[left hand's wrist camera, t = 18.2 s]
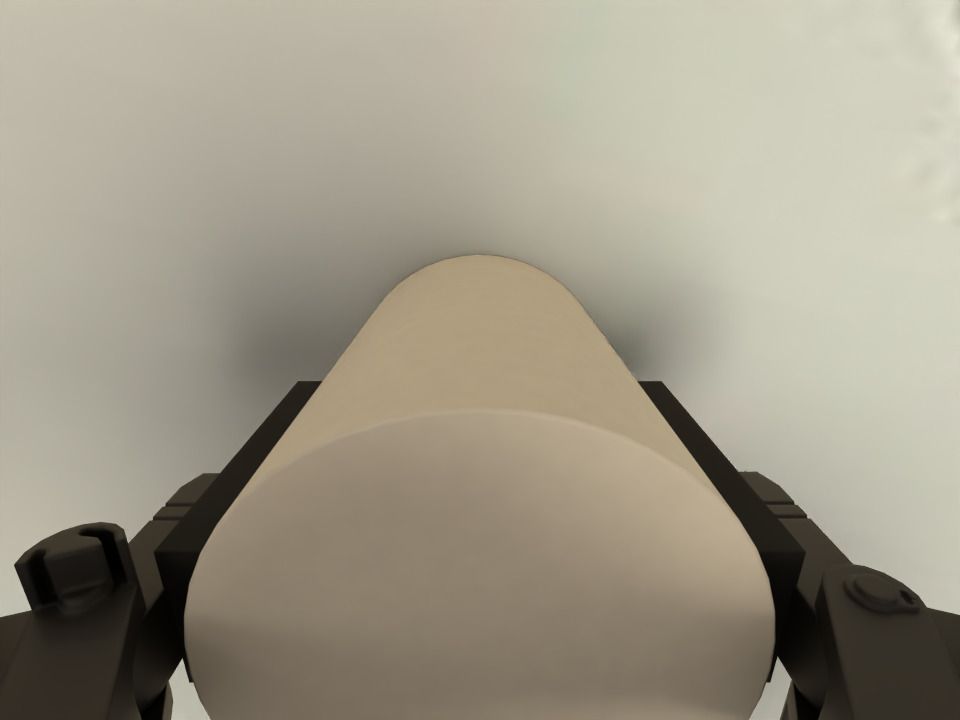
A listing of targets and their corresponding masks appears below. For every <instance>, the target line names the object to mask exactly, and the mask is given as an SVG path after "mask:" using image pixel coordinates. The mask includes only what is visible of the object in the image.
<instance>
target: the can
mask: <svg viewBox="0 0 960 720" xmlns="http://www.w3.org/2000/svg"><path fill="white" fill-rule="evenodd" d="M184 643H185V650H186V656H187V661H188V666H189V671H190V675H191V677H192V680H193V683H194V685H195V688H196V691H197V693H198V696H199V699H200V701H201V703H202V705H203V706H204V708H205V710H206V712H207V713H208V715H209V717H210V719H211V720H749V718H750V716H751V714H752V713H753V711H754V709H755V707H756V705H757V703H758V701H759V699H760V698H761V695H762V693H763V690H764V687H765V684H766V681H767V678H768V675H769V672H770V670H771V664H772V658H773V652H774V646H775V608H774V603H773V598H772V593H771V588H770V583H769V578H768V576H767V573H766V571H765V568H764V565H763V563H762V560H761V558H760V555H759V553H758V550H757V548H756V547H755V545H754V543H753V542H752V540H751V538H750V537H749V535H748V533H747V532H746V530H745V529H744V527H743V525H742V524H741V522H740V520H739V519H738V518H737V516H736V515H735V514H734V512H733V511H732V510H731V508H730V507H729V505H728V504H727V503H726V501H725V500H724V499H723V497H722V496H721V495H720V493H719V492H718V491H717V489H716V488H715V486H714V485H713V484H712V482H711V481H710V480H709V478H708V477H707V476H706V474H705V473H704V472H703V470H702V469H701V467H700V466H699V465H698V463H697V462H696V461H695V459H694V458H693V457H692V455H691V454H690V453H689V451H688V450H687V448H686V447H685V446H684V444H683V443H682V442H681V440H680V439H679V438H678V436H677V435H676V434H675V432H674V431H673V429H672V428H671V427H670V425H669V424H668V423H667V421H666V420H665V419H664V417H663V416H662V415H661V413H660V412H659V410H658V409H657V408H656V406H655V405H654V404H653V402H652V401H651V400H650V398H649V397H648V396H647V394H646V393H645V391H644V390H643V389H642V387H641V386H640V385H639V383H638V382H637V381H636V379H635V378H634V377H633V375H632V374H631V373H630V371H629V370H628V368H627V367H626V366H625V364H624V363H623V362H622V360H621V359H620V358H619V356H618V355H617V354H616V352H615V351H614V349H613V348H612V347H611V345H610V344H609V343H608V341H607V340H606V339H605V337H604V336H603V335H602V333H601V332H600V330H599V329H598V328H597V326H596V325H595V324H594V322H593V321H592V320H591V318H590V317H589V316H588V314H587V313H586V311H585V310H584V309H583V307H582V306H581V305H580V303H579V302H578V301H577V300H576V299H575V298H574V296H573V295H572V294H571V293H570V292H569V291H568V290H567V289H566V288H565V287H564V286H563V285H562V284H560V283H559V282H558V281H557V280H555V279H554V278H552V277H551V276H549V275H548V274H546V273H545V272H543V271H541V270H539V269H537V268H535V267H533V266H531V265H529V264H526V263H523V262H520V261H517V260H514V259H510V258H505V257H500V256H492V255H469V256H459V257H455V258H450V259H445V260H442V261H439V262H437V263H434V264H431V265H428V266H426V267H424V268H422V269H421V270H419V271H417V272H415V273H413V274H412V275H410V276H409V277H407V278H406V279H405V280H403V281H402V282H400V283H399V284H398V285H397V286H396V287H395V288H394V289H393V290H392V291H391V292H390V293H388V295H387V296H386V297H385V298H384V300H383V301H382V302H381V303H380V305H379V306H378V307H377V308H376V310H375V311H374V313H373V314H372V315H371V317H370V318H369V319H368V321H367V322H366V323H365V325H364V326H363V327H362V329H361V330H360V331H359V333H358V334H357V336H356V337H355V338H354V340H353V341H352V342H351V344H350V345H349V346H348V348H347V349H346V350H345V352H344V353H343V355H342V356H341V357H340V359H339V360H338V361H337V363H336V364H335V365H334V367H333V368H332V369H331V371H330V372H329V373H328V375H327V376H326V378H325V379H324V380H323V382H322V383H321V384H320V386H319V387H318V388H317V390H316V391H315V392H314V394H313V395H312V396H311V398H310V399H309V401H308V402H307V403H306V405H305V406H304V407H303V409H302V410H301V411H300V413H299V414H298V415H297V417H296V418H295V420H294V421H293V422H292V424H291V425H290V426H289V428H288V429H287V430H286V432H285V433H284V434H283V436H282V437H281V438H280V440H279V441H278V443H277V444H276V445H275V447H274V448H273V449H272V451H271V452H270V453H269V455H268V456H267V457H266V459H265V460H264V462H263V463H262V464H261V466H260V467H259V468H258V470H257V471H256V472H255V474H254V475H253V476H252V478H251V479H250V480H249V482H248V483H247V485H246V486H245V487H244V489H243V490H242V491H241V493H240V494H239V495H238V497H237V498H236V499H235V501H234V502H233V503H232V505H231V506H230V508H229V509H228V510H227V512H226V513H225V514H224V516H223V517H222V518H221V520H220V521H219V522H218V524H217V525H216V527H215V529H214V530H213V532H212V534H211V536H210V537H209V539H208V541H207V543H206V544H205V546H204V548H203V550H202V551H201V553H200V555H199V558H198V561H197V564H196V567H195V569H194V572H193V575H192V578H191V580H190V583H189V589H188V595H187V601H186V607H185V613H184Z"/></svg>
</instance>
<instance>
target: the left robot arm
mask: <svg viewBox="0 0 960 720" xmlns="http://www.w3.org/2000/svg"><path fill="white" fill-rule="evenodd" d="M322 382H323V381H298V382H297V383H296V385H295V386H294V387H293V388H292V389H291V390H290V392H289V393H288V394H287V395H286V396H285V397H284V399H283V400H282V401H281V402H280V403H279V405H278V406H277V407H276V408H275V409H274V410H273V412H272V413H271V414H270V415H269V416H268V418H267V419H266V420H265V421H264V422H263V423H262V425H261V426H260V427H259V428H258V429H257V430H256V432H255V433H254V434H253V435H252V436H251V438H250V439H249V440H248V441H247V442H246V443H245V445H244V446H243V447H242V448H241V449H240V451H239V452H238V453H237V454H236V455H235V456H234V458H233V459H232V460H231V461H230V462H229V463H228V465H227V466H226V467H225V468H224V469H223V471H222V472H221V473H203V474H202V475H200V476H198V477H197V478H195V479H194V480H192V481H190V482H189V483H187V484H185V485H184V486H182V487H181V488H180V489H179V490H178V491H177V492H176V493H175V494H174V495H173V496H172V497H171V498H170V500H169V501H168V502H167V503H166V506H165V507H162V508H161V509H160V510H159V511H158V512H157V513H156V515H155V516H154V517H153V520H152V521H149V522H148V523H147V524H146V525H145V526H144V527H143V528H142V529H141V531H140V532H139V533H138V534H137V535H136V536H135V537H134V538H133V539H132V540H131V541H130V542H129V543H128V542H127V539H126V535H125V532H124V529H122V528H121V527H119V526H118V525H116V524H113V523H105V522H98V523H90V524H83V525H79V526H76V527H73V528H69V529H66V530H63V531H60V532H58V533H56V534H54V535H52V536H50V537H48V538H46V539H44V540H42V541H40V542H39V543H37V544H36V545H34V546H33V547H32V548H30V549H29V550H27V551H26V552H25V553H24V554H23V555H22V556H21V557H20V558H19V560H18V561H17V562H16V563H15V564H14V566H15V569H16V571H17V574H18V576H19V579H20V581H21V584H22V587H23V589H24V592H25V594H26V597H27V599H28V602H29V604H30V607H31V609H32V610H30V611H26V612H22V613H18V614H13V615H9V616H4V617H0V720H171V716H172V706H173V698H172V692H171V687H170V684H169V679H170V678H171V676H172V674H173V673H174V671H175V669H176V668H177V666H178V664H179V663H180V661H181V659H182V658H183V661H184V665H185V668H186V672H187V675H188V679H189V682H193V680H192V677H191V675H190V671H189V666H188V661H187V656H186V650H185V643H184V613H185V607H186V601H187V595H188V589H189V583H190V580H191V578H192V575H193V572H194V569H195V567H196V564H197V561H198V558H199V555H200V553H201V551H202V550H203V548H204V546H205V544H206V543H207V541H208V539H209V537H210V536H211V534H212V532H213V530H214V529H215V527H216V525H217V524H218V522H219V521H220V520H221V518H222V517H223V516H224V514H225V513H226V512H227V510H228V509H229V508H230V506H231V505H232V503H233V502H234V501H235V499H236V498H237V497H238V495H239V494H240V493H241V491H242V490H243V489H244V487H245V486H246V485H247V483H248V482H249V480H250V479H251V478H252V476H253V475H254V474H255V472H256V471H257V470H258V468H259V467H260V466H261V464H262V463H263V462H264V460H265V459H266V457H267V456H268V455H269V453H270V452H271V451H272V449H273V448H274V447H275V445H276V444H277V443H278V441H279V440H280V438H281V437H282V436H283V434H284V433H285V432H286V430H287V429H288V428H289V426H290V425H291V424H292V422H293V421H294V420H295V418H296V417H297V415H298V414H299V413H300V411H301V410H302V409H303V407H304V406H305V405H306V403H307V402H308V401H309V399H310V398H311V396H312V395H313V394H314V392H315V391H316V390H317V388H318V387H319V386H320V384H321V383H322ZM637 382H638V383H639V385H640V386H641V387H642V389H643V390H644V391H645V393H646V394H647V396H648V397H649V398H650V400H651V401H652V402H653V404H654V405H655V406H656V408H657V409H658V410H659V412H660V413H661V415H662V416H663V417H664V419H665V420H666V421H667V423H668V424H669V425H670V427H671V428H672V429H673V431H674V432H675V434H676V435H677V436H678V438H679V439H680V440H681V442H682V443H683V444H684V446H685V447H686V448H687V450H688V451H689V453H690V454H691V455H692V457H693V458H694V459H695V461H696V462H697V463H698V465H699V466H700V467H701V469H702V470H703V472H704V473H705V474H706V476H707V477H708V478H709V480H710V481H711V482H712V484H713V485H714V486H715V488H716V489H717V491H718V492H719V493H720V495H721V496H722V497H723V499H724V500H725V501H726V503H727V504H728V505H729V507H730V508H731V510H732V511H733V512H734V514H735V515H736V516H737V518H738V519H739V520H740V522H741V524H742V525H743V527H744V529H745V530H746V532H747V533H748V535H749V537H750V538H751V540H752V542H753V543H754V545H755V547H756V548H757V550H758V553H759V555H760V558H761V560H762V563H763V565H764V568H765V571H766V573H767V576H768V578H769V583H770V588H771V593H772V598H773V603H774V608H775V646H774V652H773V658H772V664H771V670H770V672H769V675H768V678H767V681H766V682H770V681H771V678H772V674H773V670H774V667H775V663H776V660H777V656H778V657H779V659H780V661H781V662H782V664H783V666H784V667H785V669H786V671H787V672H788V674H789V675H790V677H791V679H792V681H791V684H790V687H789V691H788V694H787V698H786V701H785V704H784V708H783V711H782V714H781V718H780V720H960V615H957V614H953V613H948V612H944V611H939V610H935V609H931V608H927V607H926V606H925V604H924V603H923V601H922V600H921V599H920V597H919V596H918V595H917V594H915V593H914V592H913V591H912V590H910V589H909V588H908V587H907V586H906V585H904V584H903V583H901V582H900V581H898V580H896V579H894V578H892V577H890V576H889V575H887V574H885V573H883V572H880V571H877V570H874V569H871V568H868V567H865V566H860V565H853V564H852V563H851V561H850V560H849V559H848V558H847V557H846V556H845V555H844V554H843V553H842V552H841V551H840V550H839V549H838V548H837V547H836V546H835V544H834V543H833V542H832V541H831V540H830V539H829V538H828V537H827V536H826V535H825V534H824V533H823V532H822V531H821V530H820V529H819V527H818V526H817V525H816V524H815V523H814V522H813V521H812V520H811V519H808V518H807V515H806V514H805V513H804V512H803V510H802V509H801V508H800V507H799V506H798V505H795V504H794V501H793V500H792V499H791V498H790V497H789V496H788V494H787V493H786V492H785V491H784V490H783V489H782V488H781V487H780V486H779V485H777V484H776V483H774V482H772V481H771V480H769V479H768V478H766V477H764V476H763V475H761V474H759V473H758V472H738V471H737V470H736V469H735V467H734V466H733V465H732V464H731V463H730V462H729V460H728V459H727V458H726V457H725V456H724V454H723V453H722V452H721V451H720V450H719V449H718V447H717V446H716V445H715V444H714V443H713V442H712V440H711V439H710V438H709V437H708V436H707V434H706V433H705V432H704V431H703V430H702V429H701V427H700V426H699V425H698V424H697V423H696V421H695V420H694V419H693V418H692V417H691V416H690V414H689V413H688V412H687V411H686V410H685V409H684V407H683V406H682V405H681V404H680V403H679V401H678V400H677V399H676V398H675V397H674V396H673V394H672V393H671V392H670V391H669V390H668V388H667V387H666V386H665V385H664V384H663V383H662V381H637Z"/></svg>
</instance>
